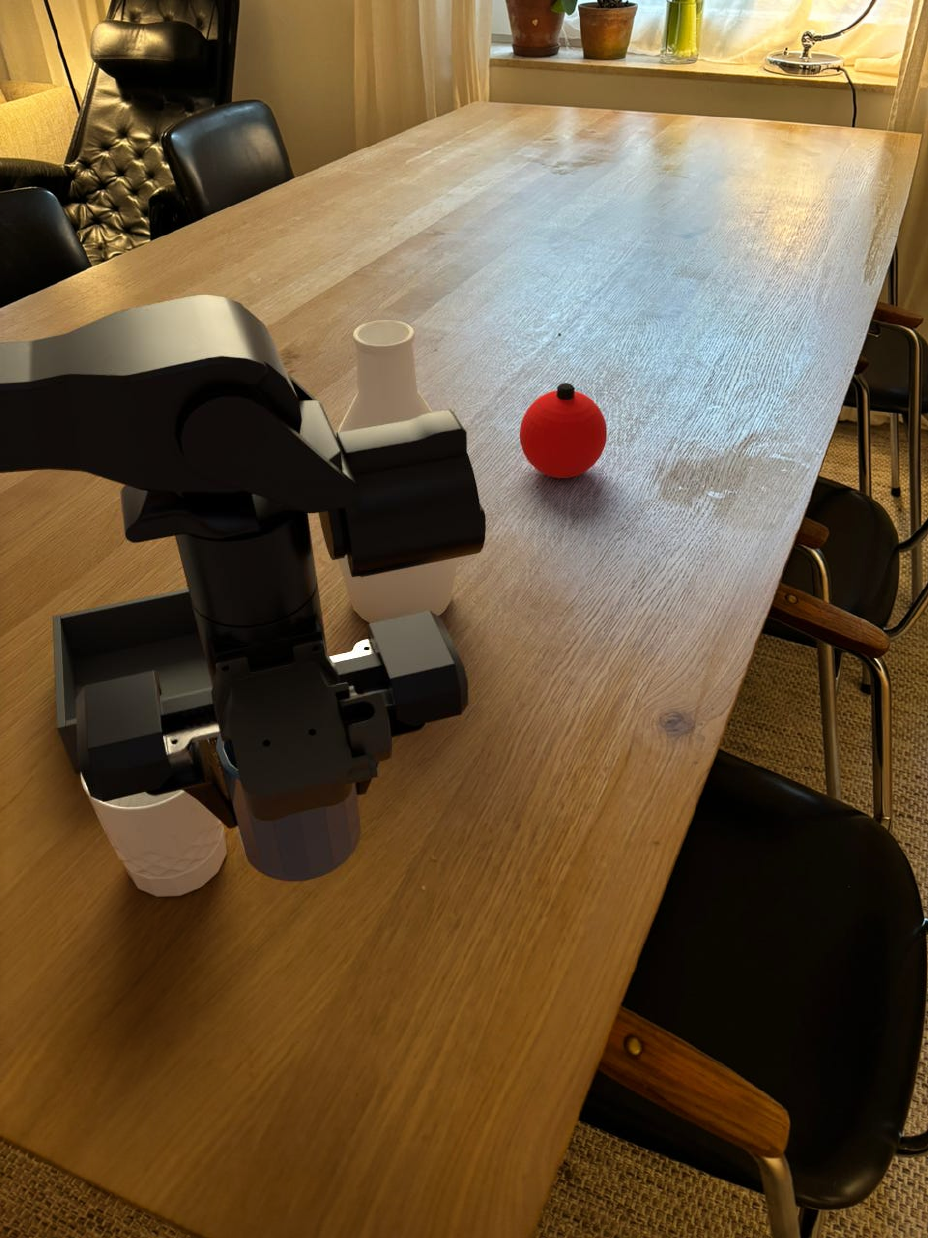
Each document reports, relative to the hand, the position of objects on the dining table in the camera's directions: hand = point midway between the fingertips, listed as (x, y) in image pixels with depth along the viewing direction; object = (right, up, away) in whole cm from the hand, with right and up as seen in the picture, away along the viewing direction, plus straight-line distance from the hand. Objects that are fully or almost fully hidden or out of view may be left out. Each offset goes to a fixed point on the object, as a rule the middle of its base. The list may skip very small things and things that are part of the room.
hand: (296, 805), depth 55 cm
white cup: (-10, -6, +13) cm, 18 cm away
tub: (-16, +4, +25) cm, 30 cm away
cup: (0, -2, +1) cm, 2 cm away
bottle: (+4, +12, +34) cm, 36 cm away
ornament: (+20, +26, +50) cm, 60 cm away
